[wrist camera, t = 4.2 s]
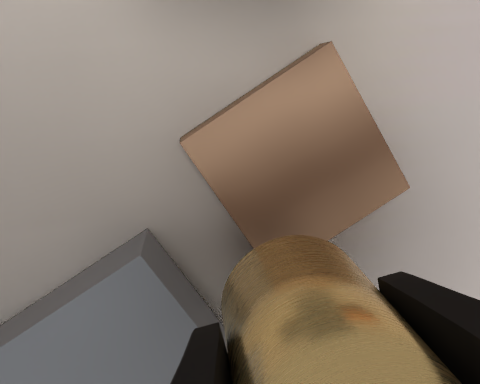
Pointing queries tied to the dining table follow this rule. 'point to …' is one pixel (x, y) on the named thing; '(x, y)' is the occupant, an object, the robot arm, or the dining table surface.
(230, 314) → the brass peg
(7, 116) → the dining table surface
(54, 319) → the hole board
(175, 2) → the dining table surface
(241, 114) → the tan flat square
